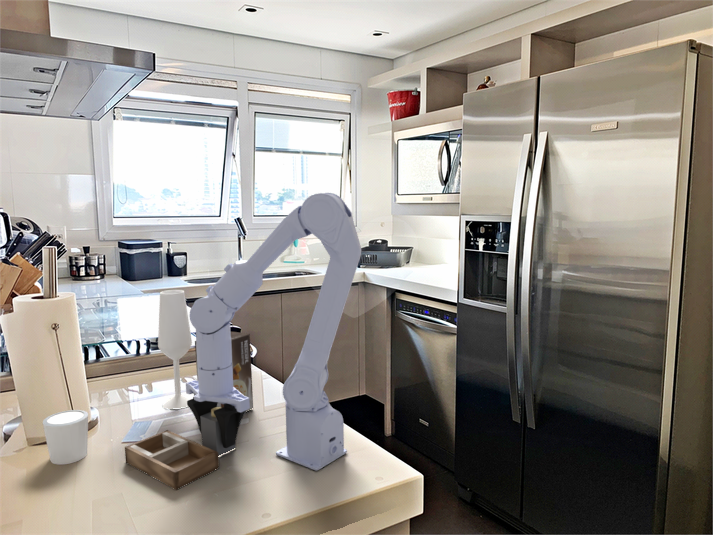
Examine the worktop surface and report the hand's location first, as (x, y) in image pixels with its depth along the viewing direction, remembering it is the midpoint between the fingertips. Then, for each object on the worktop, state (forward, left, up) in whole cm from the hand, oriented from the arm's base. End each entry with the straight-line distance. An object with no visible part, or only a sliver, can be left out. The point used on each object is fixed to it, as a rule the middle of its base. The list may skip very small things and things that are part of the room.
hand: (218, 441), depth 95 cm
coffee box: (+11, -11, -2) cm, 16 cm away
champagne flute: (+24, -8, -2) cm, 26 cm away
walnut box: (+2, +8, -2) cm, 8 cm away
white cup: (+19, +16, -2) cm, 25 cm away
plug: (0, 0, -2) cm, 2 cm away
